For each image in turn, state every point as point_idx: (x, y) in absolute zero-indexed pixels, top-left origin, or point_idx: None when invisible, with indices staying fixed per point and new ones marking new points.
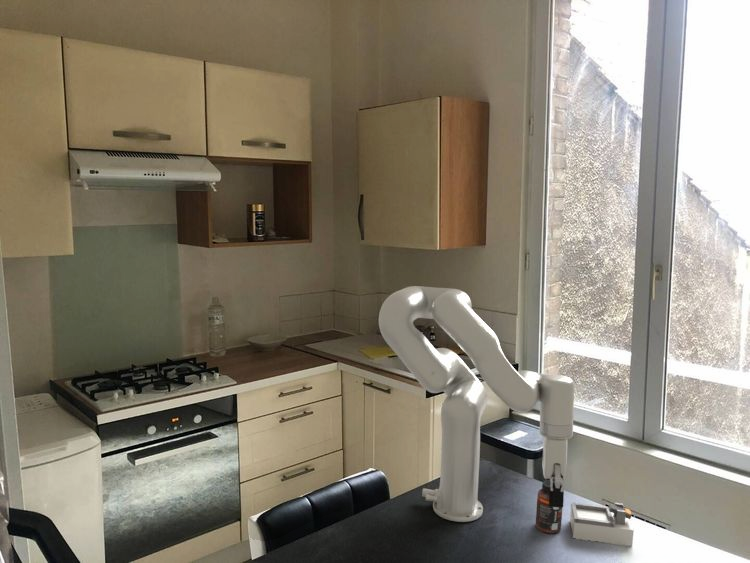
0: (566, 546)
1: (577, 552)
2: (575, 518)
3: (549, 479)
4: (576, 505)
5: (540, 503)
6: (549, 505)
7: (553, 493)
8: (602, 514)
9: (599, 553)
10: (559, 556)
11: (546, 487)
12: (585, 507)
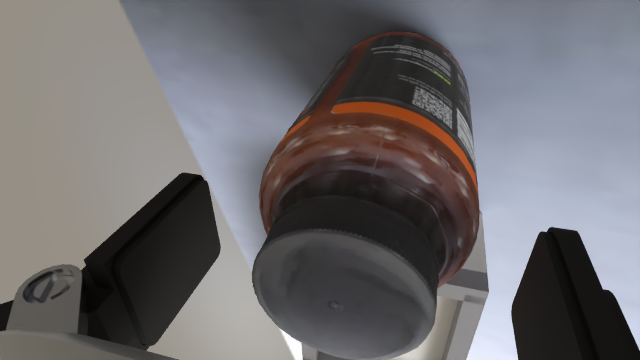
0: (255, 150)
1: (229, 179)
2: None
3: (554, 313)
4: (460, 301)
5: (310, 110)
6: (181, 175)
7: (85, 270)
8: (409, 356)
9: (253, 243)
10: (172, 109)
11: (268, 241)
12: (452, 327)
